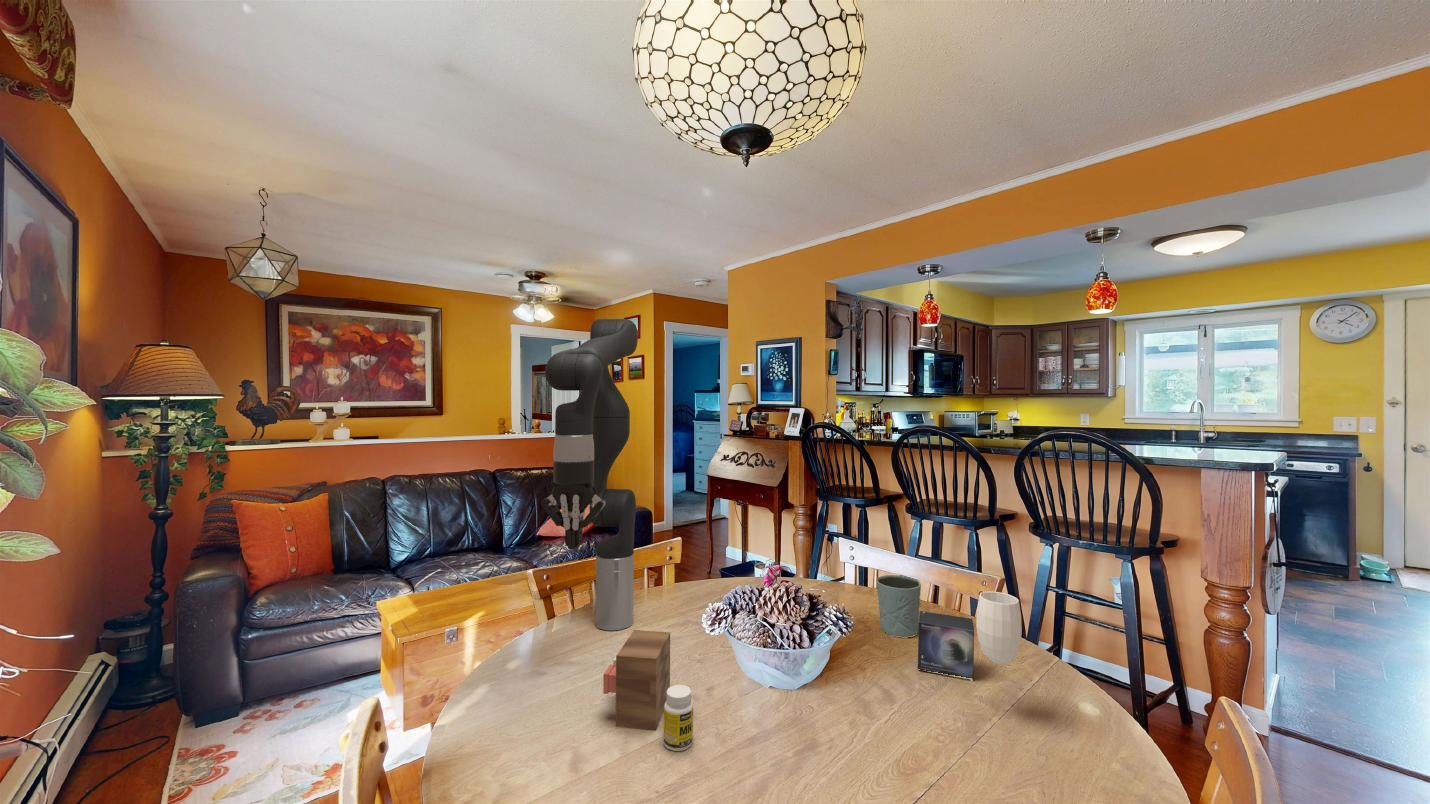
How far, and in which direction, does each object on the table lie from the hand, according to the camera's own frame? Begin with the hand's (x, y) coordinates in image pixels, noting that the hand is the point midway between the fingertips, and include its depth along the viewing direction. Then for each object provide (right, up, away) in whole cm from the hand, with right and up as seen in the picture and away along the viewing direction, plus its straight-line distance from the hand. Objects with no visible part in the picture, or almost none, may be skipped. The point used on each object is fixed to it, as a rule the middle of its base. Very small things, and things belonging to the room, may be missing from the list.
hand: (573, 548), depth 103 cm
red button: (+12, -22, -9) cm, 27 cm away
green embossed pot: (+72, -28, +27) cm, 81 cm away
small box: (+75, -28, +8) cm, 80 cm away
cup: (+78, -28, -7) cm, 83 cm away
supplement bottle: (+21, -27, -16) cm, 38 cm away
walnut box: (+14, -27, -7) cm, 31 cm away
